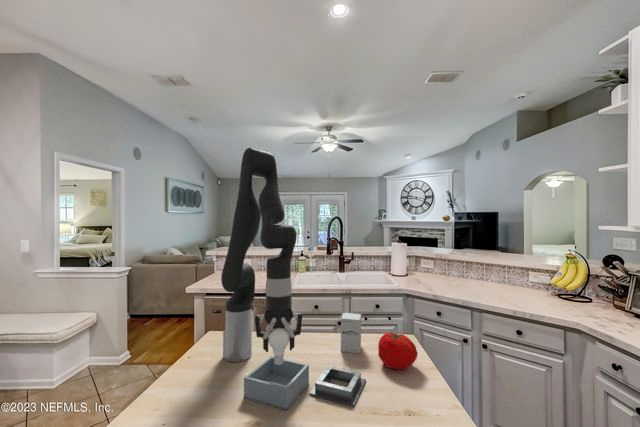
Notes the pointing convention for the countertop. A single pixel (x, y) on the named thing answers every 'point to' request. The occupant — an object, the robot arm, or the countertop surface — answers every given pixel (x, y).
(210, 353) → the countertop surface
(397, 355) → the tomato
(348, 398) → the dark grey square frame
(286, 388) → the bin
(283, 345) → the lightbulb
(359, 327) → the supplement box
